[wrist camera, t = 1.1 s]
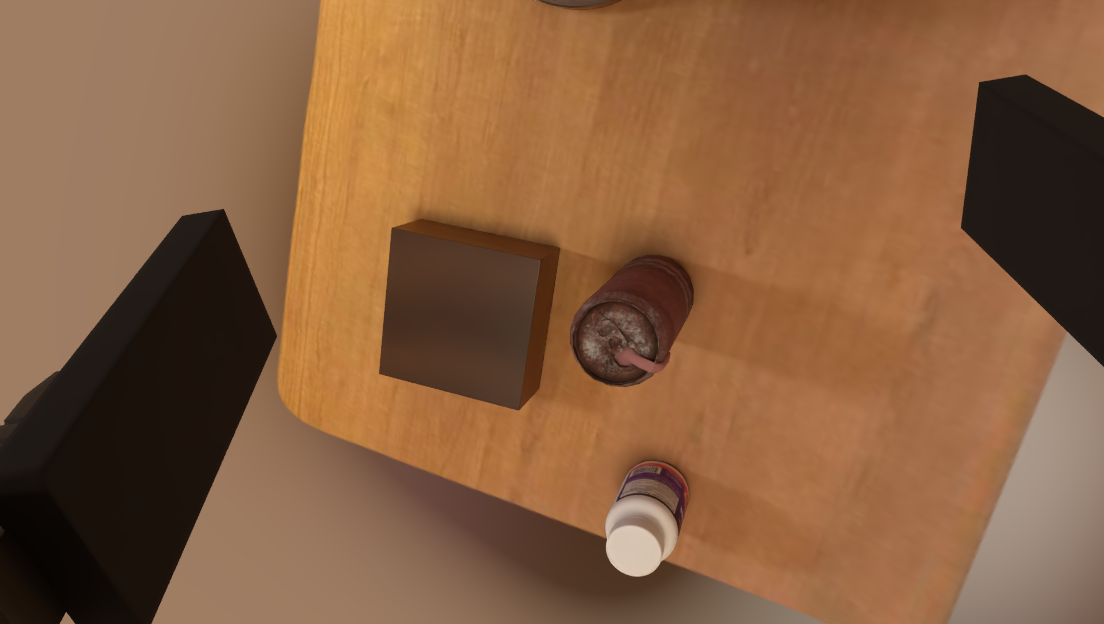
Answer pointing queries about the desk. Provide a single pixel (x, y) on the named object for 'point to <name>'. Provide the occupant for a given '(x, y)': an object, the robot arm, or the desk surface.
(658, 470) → the pill bottle
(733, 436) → the desk surface
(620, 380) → the can
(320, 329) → the desk surface
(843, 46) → the desk surface
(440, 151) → the desk surface
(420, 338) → the walnut block
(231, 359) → the robot arm
